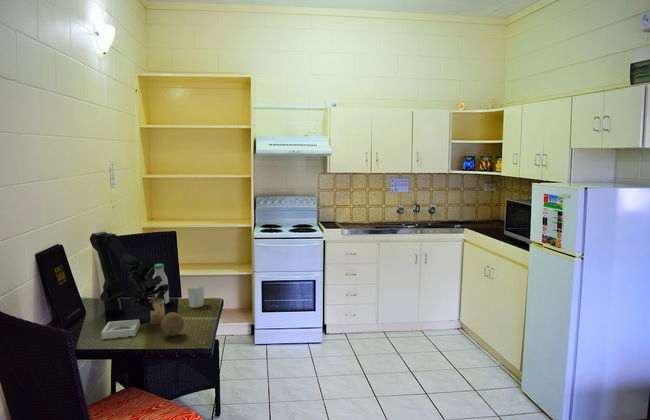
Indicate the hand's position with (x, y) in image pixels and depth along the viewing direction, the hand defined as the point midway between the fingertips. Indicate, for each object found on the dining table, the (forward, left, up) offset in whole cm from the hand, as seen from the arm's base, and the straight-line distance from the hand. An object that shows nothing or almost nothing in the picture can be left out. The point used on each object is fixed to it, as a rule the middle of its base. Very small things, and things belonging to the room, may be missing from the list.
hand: (159, 308), depth 225 cm
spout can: (-1, +1, -7) cm, 7 cm away
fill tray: (-15, -8, -7) cm, 18 cm away
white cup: (+15, +22, -7) cm, 27 cm away
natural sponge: (+7, -18, -7) cm, 20 cm away
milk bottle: (-3, +32, -7) cm, 33 cm away
